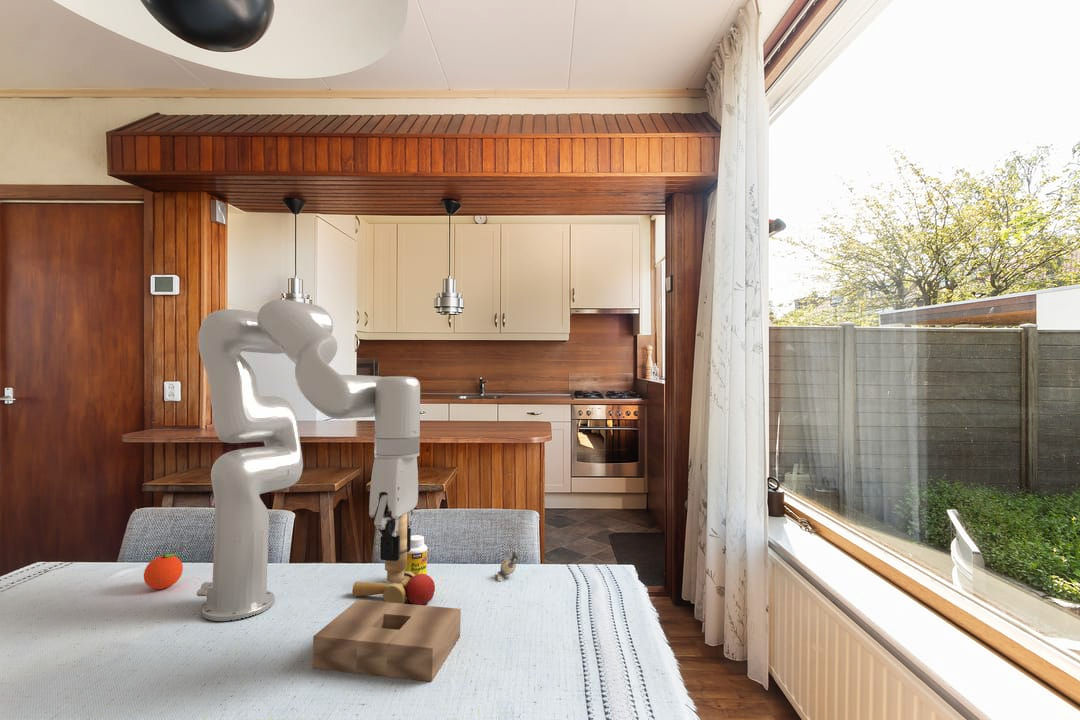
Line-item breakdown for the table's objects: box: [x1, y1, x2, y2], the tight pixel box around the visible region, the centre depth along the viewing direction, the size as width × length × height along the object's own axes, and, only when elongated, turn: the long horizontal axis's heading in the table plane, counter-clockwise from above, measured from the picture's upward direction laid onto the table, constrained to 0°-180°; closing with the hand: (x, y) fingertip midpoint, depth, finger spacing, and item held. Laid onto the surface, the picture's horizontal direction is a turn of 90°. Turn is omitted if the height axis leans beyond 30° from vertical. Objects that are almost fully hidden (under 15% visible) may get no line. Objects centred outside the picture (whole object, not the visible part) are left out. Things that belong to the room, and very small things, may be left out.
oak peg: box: [384, 513, 407, 584], centre depth 88 cm, size 4×4×12 cm
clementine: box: [143, 553, 185, 590], centre depth 112 cm, size 8×7×7 cm
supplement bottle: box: [404, 534, 428, 575], centre depth 117 cm, size 6×6×10 cm
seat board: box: [311, 599, 462, 682], centre depth 87 cm, size 20×14×5 cm
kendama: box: [351, 571, 436, 606], centre depth 107 cm, size 8×6×18 cm
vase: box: [497, 551, 522, 582], centre depth 121 cm, size 5×5×6 cm
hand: (395, 554), depth 87 cm, fingers closed on oak peg, 3 cm apart
